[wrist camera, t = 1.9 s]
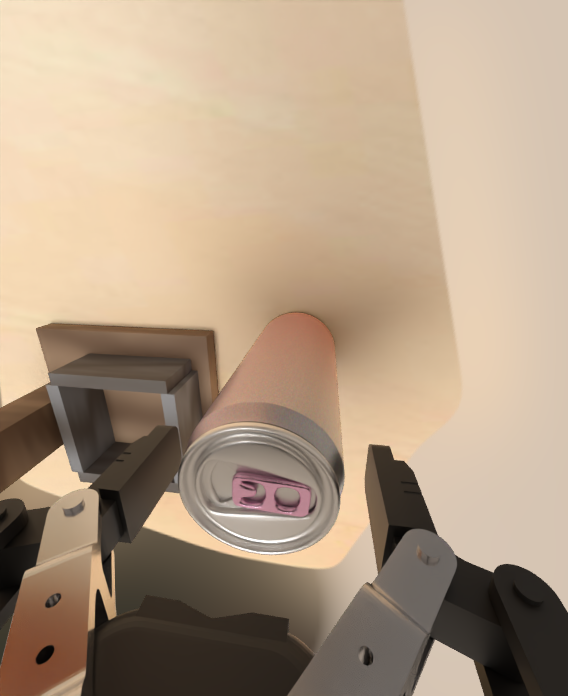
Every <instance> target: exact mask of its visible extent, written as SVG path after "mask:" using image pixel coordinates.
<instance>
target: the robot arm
mask: <svg viewBox="0 0 568 696" xmlns="http://www.w3.org/2000/svg"><path fill="white" fill-rule="evenodd" d="M181 460H182V455H181V447H180V440H179V432H178V428H177V427H176V426H165V425H157V426H156V427H155V428H154V429H153V430H152V431H151V432H150V433H149V435H148V436H143V437H141V438H140V439H138V440H136V441H135V442H133V443H132V444H131V445H130V446H129V447H128V448H127V449H126V450H125V451H124V452H123V454H121V455H120V456H119V457H118V458H117V459H116V461H114V462H113V463H112V464H111V465H110V466H109V467H108V468H107V469H106V470H105V471H104V472H103V473H102V474H101V475H100V476H99V477H98V478H97V479H96V481H95V482H94V483H93V484H92V485H91V486H90V487H89V488H88V489H80V490H76V491H73V492H71V493H69V494H67V495H65V496H63V497H62V498H60V499H59V500H58V501H56V502H55V503H54V504H53V505H52V506H51V507H46V508H40V509H33V510H26V507H25V505H24V502H23V501H22V500H20V499H7V500H3V501H0V629H1V628H2V627H3V626H4V624H5V623H6V622H7V621H8V619H9V618H10V617H11V616H12V614H13V613H14V615H13V619H12V623H11V627H10V631H9V635H8V638H7V643H6V646H5V650H4V655H3V659H2V662H1V667H0V696H412V695H413V693H414V690H415V688H416V685H417V682H418V680H419V677H420V675H421V673H422V670H423V668H424V666H425V663H426V661H427V658H428V656H429V653H430V651H431V648H432V646H433V643H434V641H435V639H436V640H437V641H439V642H441V643H443V644H445V645H447V646H449V647H450V648H452V649H454V650H456V651H458V652H460V653H462V654H464V655H466V656H467V657H469V658H471V659H473V660H474V663H475V666H476V670H477V673H478V676H479V679H480V682H481V686H482V689H483V692H484V696H568V612H567V611H566V609H565V607H564V606H563V604H562V602H561V601H560V599H559V598H558V596H557V595H556V593H555V592H554V591H553V590H552V589H551V588H550V587H549V586H548V585H547V584H546V583H545V582H544V581H543V580H542V579H541V578H539V577H538V576H536V575H535V574H533V573H532V572H530V571H528V570H526V569H524V568H522V567H519V566H516V565H511V564H503V565H500V566H498V567H497V568H496V569H495V571H494V573H493V572H490V571H488V570H485V569H483V568H480V567H478V566H476V565H473V564H471V563H469V562H466V561H464V560H463V559H461V558H459V557H458V556H456V555H455V554H454V552H453V550H452V549H451V547H450V546H449V545H448V544H447V542H445V541H444V540H443V539H442V538H441V537H439V536H438V534H437V532H436V530H435V527H434V524H433V522H432V519H431V516H430V514H429V511H428V509H427V506H426V503H425V501H424V498H423V496H422V493H421V490H420V488H419V486H418V482H417V480H416V477H415V474H414V472H413V471H412V469H411V468H410V467H409V466H408V465H407V464H406V463H405V462H404V461H398V460H394V458H393V455H392V452H391V449H390V447H389V446H383V445H372V444H370V445H369V448H368V456H367V464H366V472H365V493H366V500H367V506H368V512H369V519H370V525H371V531H372V538H373V543H374V549H375V557H376V563H377V569H378V576H377V577H376V579H375V580H374V581H373V583H372V584H370V583H368V582H367V583H365V584H364V585H363V586H362V588H361V589H360V590H359V591H358V593H357V594H356V596H355V597H354V599H353V600H352V602H351V603H350V605H349V606H348V608H347V609H346V610H345V612H344V614H343V615H342V616H341V618H340V619H339V621H338V622H337V624H336V625H335V627H334V628H333V629H332V631H331V633H330V634H329V636H328V637H327V639H326V640H325V641H324V643H323V644H322V646H321V647H320V649H319V650H318V652H317V653H316V654H314V652H313V651H312V650H311V649H310V648H309V647H308V646H307V645H306V644H304V643H303V642H302V641H301V640H299V639H298V638H297V637H295V636H293V635H291V634H290V633H289V619H287V618H281V617H275V616H269V615H263V614H257V613H247V614H241V615H234V616H226V617H219V618H210V617H208V616H206V615H204V614H202V613H201V612H199V611H197V610H195V609H193V608H192V607H190V606H188V605H186V604H185V603H183V602H181V601H178V600H173V599H167V598H161V597H155V596H149V595H146V596H145V598H144V600H143V602H142V604H141V606H140V608H139V609H136V610H133V611H129V612H126V613H123V614H121V615H118V616H116V608H115V574H114V573H115V572H114V552H113V549H114V547H115V546H116V544H117V543H118V542H125V543H132V541H133V539H134V538H135V537H136V535H137V534H138V532H139V531H140V529H141V527H142V526H143V524H144V523H145V521H146V520H147V518H148V517H149V515H150V514H151V512H152V511H153V509H154V508H155V506H156V504H157V503H158V501H159V500H160V498H161V497H162V495H163V494H164V492H165V491H166V489H167V488H168V486H169V484H170V483H171V481H172V480H173V478H174V477H175V475H176V474H177V472H178V470H179V466H180V463H181Z"/></svg>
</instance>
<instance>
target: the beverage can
mask: <svg viewBox="0 0 568 696" xmlns="http://www.w3.org/2000/svg"><path fill="white" fill-rule="evenodd" d="M343 486H344V461H343V448H342V435H341V422H340V409H339V396H338V383H337V370H336V357H335V345H334V340H333V337H332V335H331V333H330V331H329V329H328V328H327V327H326V326H325V325H324V324H323V323H322V322H321V321H320V320H318V319H317V318H315V317H313V316H311V315H308V314H305V313H297V312H295V313H287V314H283V315H281V316H278V317H276V318H275V319H273V320H272V321H271V322H270V323H269V324H268V325H267V326H266V327H265V329H264V330H263V332H262V333H261V334H260V336H259V337H258V339H257V340H256V342H255V343H254V345H253V346H252V347H251V349H250V350H249V352H248V353H247V355H246V356H245V357H244V359H243V360H242V362H241V363H240V365H239V366H238V368H237V369H236V370H235V372H234V373H233V375H232V376H231V378H230V379H229V380H228V382H227V383H226V385H225V386H224V388H223V389H222V391H221V392H220V393H219V395H218V396H217V398H216V399H215V401H214V402H213V403H212V405H211V406H210V408H209V409H208V411H207V412H206V414H205V415H204V416H203V418H202V419H201V421H200V422H199V424H198V425H197V426H196V428H195V429H194V431H193V433H192V435H191V437H190V439H189V442H188V445H187V451H186V452H185V454H184V456H183V458H182V460H181V463H180V466H179V471H178V488H179V493H180V496H181V499H182V502H183V504H184V506H185V508H186V510H187V511H188V513H189V514H190V516H191V517H192V518H193V519H194V521H195V522H196V523H197V524H198V525H199V526H200V527H201V528H202V529H203V530H205V531H206V532H207V533H208V534H210V535H211V536H213V537H214V538H216V539H217V540H219V541H221V542H223V543H225V544H227V545H229V546H231V547H234V548H236V549H239V550H242V551H246V552H250V553H256V554H264V555H282V554H289V553H294V552H297V551H301V550H303V549H306V548H308V547H310V546H312V545H314V544H315V543H317V542H318V541H320V540H321V539H322V538H323V537H324V536H325V535H326V534H327V533H328V532H329V531H330V530H331V528H332V527H333V525H334V523H335V521H336V519H337V516H338V513H339V509H340V496H341V493H342V490H343Z"/></svg>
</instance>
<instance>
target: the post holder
mask: <svg viewBox="0 0 568 696" xmlns="http://www.w3.org/2000/svg"><path fill="white" fill-rule="evenodd" d="M36 331H37V334H38V338H39V341H40V344H41V348H42V351H43V354H44V358H45V361H46V364H47V368H48V371H49V373H48V375H49V378H50V383H48V384H46V385H44V386H42V387H40V388H38V389H36V390H34V391H32V392H31V393H29V394H27V395H25V396H23V397H21V398H19V399H17V400H15V401H13V402H11V403H9V404H7V405H5V406H3V407H1V408H0V493H1V492H2V491H3V490H5V489H6V488H8V487H9V486H10V485H11V484H13V483H14V482H15V481H17V480H18V479H19V478H20V477H22V476H23V475H24V474H26V473H27V472H28V471H29V470H31V469H32V468H33V467H35V466H36V465H37V464H38V463H40V462H41V461H42V460H44V459H45V458H46V457H47V456H49V455H50V454H51V453H53V452H54V451H55V450H56V449H58V448H59V447H60V446H62V445H63V444H64V446H65V450H66V453H67V456H68V459H69V463H70V466H71V469H72V471H73V472H78V475H79V478H80V481H81V482H89V483H94V482H95V481H96V479H97V478H98V477H99V476H100V475H101V474H102V473H103V472H104V471H105V470H106V469H107V468H108V467H109V466H110V465H111V464H112V463H113V462H114V461H116V459H117V458H118V457H119V456H120V455H121V454H123V452H124V451H125V450H126V449H127V448H128V447H129V446H130V445H131V444H132V443H133V442H135V441H136V440H138V439H140V438H141V437H143V436H148V435H149V433H150V432H151V431H152V430H153V429H154V428H155V427H156V426H157V425H165V426H176V427H177V428H178V432H179V440H180V447H181V455H182V458H183V456H184V454H185V452H186V451H187V445H188V442H189V439H190V437H191V435H192V433H193V431H194V429H195V428H196V426H197V425H198V424H199V422H200V421H201V419H202V418H203V416H204V415H205V414H206V412H207V411H208V409H209V408H210V406H211V405H212V403H213V402H214V401H215V399H216V398H217V396H218V385H217V373H216V360H215V348H214V336H213V331H204V330H182V329H160V328H138V327H116V326H94V325H72V324H48V325H45V326H42V327H38V328H36ZM178 471H179V470H178ZM165 492H173V493H179V488H178V472H177V474H176V475H175V477H174V478H173V480H172V481H171V483H170V484H169V486H168V488H167V489H166V491H165Z"/></svg>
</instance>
